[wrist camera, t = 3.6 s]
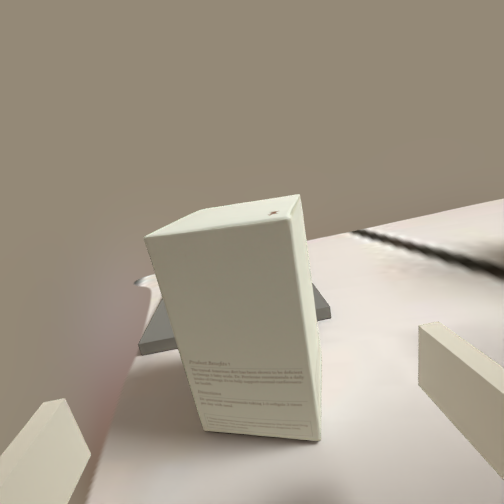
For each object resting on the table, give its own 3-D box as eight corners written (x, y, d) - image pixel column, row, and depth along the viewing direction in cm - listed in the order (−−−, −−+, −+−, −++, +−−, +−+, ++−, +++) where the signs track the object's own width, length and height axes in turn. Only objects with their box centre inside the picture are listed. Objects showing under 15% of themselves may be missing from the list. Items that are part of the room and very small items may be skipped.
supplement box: (323, 354, 21) (304, 191, 18) (322, 447, 15) (292, 214, 11) (234, 352, 24) (201, 206, 20) (198, 433, 17) (137, 233, 13)
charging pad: (296, 268, 39) (295, 259, 39) (331, 317, 26) (329, 305, 26) (172, 292, 39) (169, 283, 39) (141, 355, 26) (137, 343, 25)
